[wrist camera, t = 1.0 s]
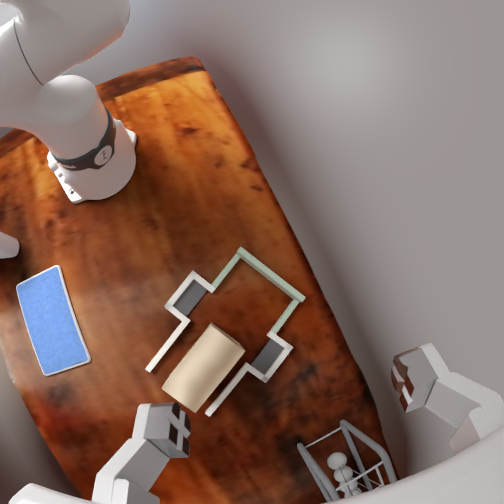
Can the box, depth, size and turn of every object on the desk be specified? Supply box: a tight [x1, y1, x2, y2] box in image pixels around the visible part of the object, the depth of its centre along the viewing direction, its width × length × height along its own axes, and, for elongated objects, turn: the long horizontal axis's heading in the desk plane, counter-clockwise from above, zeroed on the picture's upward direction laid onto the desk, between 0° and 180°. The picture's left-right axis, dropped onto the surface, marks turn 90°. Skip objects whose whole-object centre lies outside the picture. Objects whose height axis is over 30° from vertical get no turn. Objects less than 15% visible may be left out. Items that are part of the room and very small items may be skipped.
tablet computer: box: [16, 265, 91, 376], centre depth 46 cm, size 19×13×1 cm, turn 23°
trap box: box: [145, 247, 306, 416], centre depth 48 cm, size 22×27×3 cm
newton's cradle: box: [297, 420, 397, 502], centre depth 38 cm, size 30×10×18 cm, turn 25°
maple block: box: [162, 322, 245, 413], centre depth 44 cm, size 6×12×10 cm, turn 143°
